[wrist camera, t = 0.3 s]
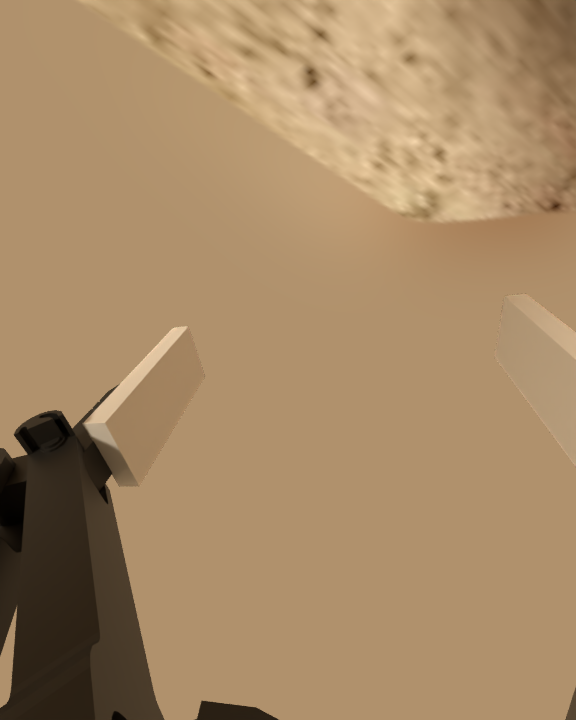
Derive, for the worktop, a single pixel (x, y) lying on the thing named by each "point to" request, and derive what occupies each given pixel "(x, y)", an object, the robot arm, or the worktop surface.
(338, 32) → the worktop surface
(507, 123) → the worktop surface
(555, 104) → the worktop surface
